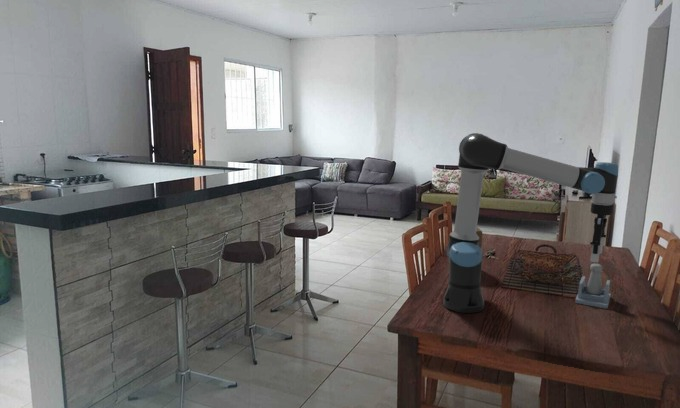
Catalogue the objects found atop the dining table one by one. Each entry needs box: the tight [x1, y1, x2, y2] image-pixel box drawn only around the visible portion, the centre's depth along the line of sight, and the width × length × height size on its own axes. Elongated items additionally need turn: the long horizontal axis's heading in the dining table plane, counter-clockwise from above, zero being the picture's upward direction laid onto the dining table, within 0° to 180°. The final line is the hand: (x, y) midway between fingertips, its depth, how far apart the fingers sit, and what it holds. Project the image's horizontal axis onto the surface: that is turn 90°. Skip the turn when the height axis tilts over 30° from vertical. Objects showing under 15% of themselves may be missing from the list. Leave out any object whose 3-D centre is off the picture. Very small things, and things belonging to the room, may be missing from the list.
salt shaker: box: [586, 263, 604, 296], centre depth 189 cm, size 6×6×13 cm
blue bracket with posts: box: [574, 275, 612, 310], centre depth 190 cm, size 14×11×8 cm
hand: (596, 257), depth 188 cm, fingers open, 13 cm apart
